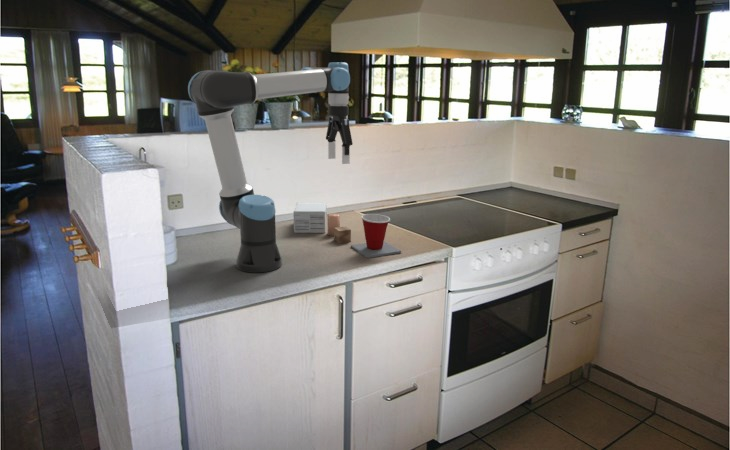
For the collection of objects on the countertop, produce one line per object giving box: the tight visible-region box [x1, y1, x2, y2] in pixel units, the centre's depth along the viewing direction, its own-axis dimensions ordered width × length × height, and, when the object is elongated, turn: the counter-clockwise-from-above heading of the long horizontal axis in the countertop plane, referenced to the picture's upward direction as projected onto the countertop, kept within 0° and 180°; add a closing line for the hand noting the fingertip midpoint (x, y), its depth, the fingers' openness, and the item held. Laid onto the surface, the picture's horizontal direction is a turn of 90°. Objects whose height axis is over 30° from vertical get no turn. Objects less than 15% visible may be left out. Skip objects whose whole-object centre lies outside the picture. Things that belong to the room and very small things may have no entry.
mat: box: [350, 240, 402, 259], centre depth 205 cm, size 14×14×1 cm
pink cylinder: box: [327, 213, 341, 237], centre depth 224 cm, size 5×5×8 cm
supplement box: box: [293, 202, 328, 234], centre depth 233 cm, size 17×13×9 cm
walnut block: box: [333, 226, 352, 244], centre depth 216 cm, size 5×5×5 cm
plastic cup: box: [361, 213, 391, 250], centre depth 204 cm, size 11×11×12 cm
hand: (338, 161), depth 213 cm, fingers open, 13 cm apart
